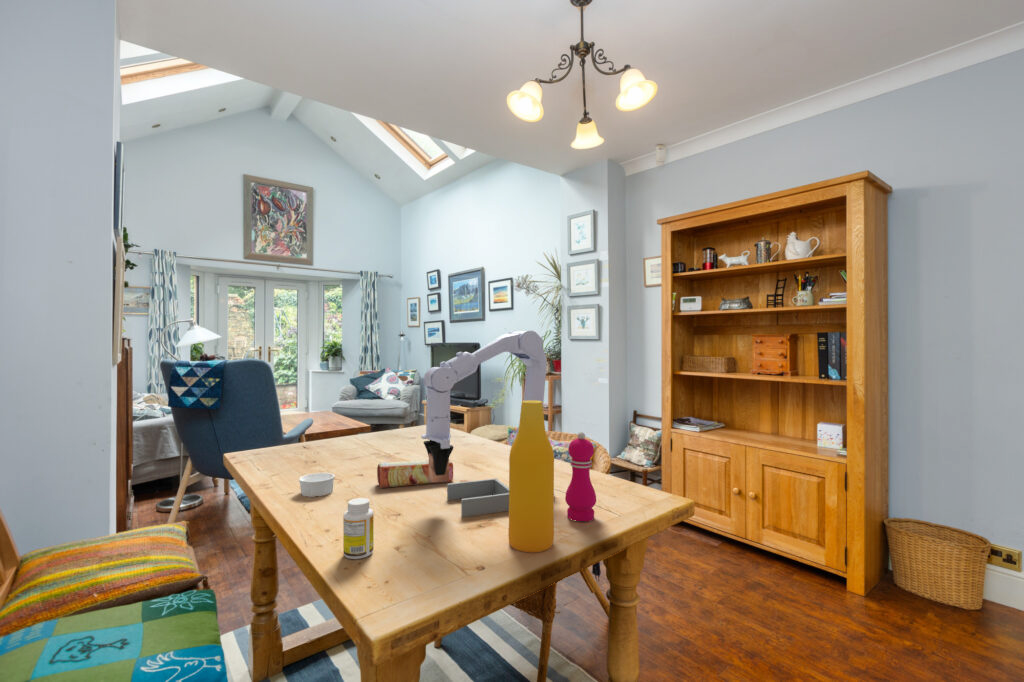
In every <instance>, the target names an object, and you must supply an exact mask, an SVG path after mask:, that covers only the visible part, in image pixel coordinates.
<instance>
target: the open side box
mask: <svg viewBox="0 0 1024 682" xmlns="http://www.w3.org/2000/svg"><path fill="white" fill-rule="evenodd" d="M446 485H447V488H446V491H447V494H446V495H447V496H446V499H447V501H451V500H452V501H453V500H460V499H461V507H460V508H461V511H460V513H461V515H460V516H461V517H462V518H465V517H473V515H474V516H480V515H481V516H482V515H487V514H495V513H501V512H509V486H507V485H505V483H503V482H502V481H500V480H499V479H498V478H497V477H496V478H487V479H479V480H469V481H460V482H453V483H452V482H449V483H446ZM492 494H493V495H492Z"/></svg>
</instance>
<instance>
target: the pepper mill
mask: <svg viewBox="0 0 1024 682" xmlns="http://www.w3.org/2000/svg"><path fill="white" fill-rule="evenodd" d="M567 452H568V455H569V456H570V457H571V458H570V459H569V461H570V464H569V465H570V466H571V468H572V469H571V470H572V476H571V480H570V482H569V484H568V487H567V489H566V491H565V496H564V497H565V498H564V499H565V503H566V505H568V508H567V511H566V513H567V515H566V517H567V518H568V519H569V518H570V519H572V520H571V521H573V520H576V521H575V522H577V521H588V522H591V521H593V520H594V519H595V509H593V508H594V506H595V505H596V503H597V494H596V491H595V488H594V486H593V484H592V481H591V477H590V475H591V474H590V470H591V468H592V465H593V464H592V462H593V461H592V459H591V458H592V457H593V456H594V453H595V448H594V445H593V443H592V442H591V441H590V440H589V439H587V438H586V434H585V432H583V431H580V432H578V434H577V438H575V439H572V440H571V441H570V443H569V444H568V451H567ZM570 519H569V520H570ZM592 519H593V520H592ZM590 520H591V521H590Z"/></svg>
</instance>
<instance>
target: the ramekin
mask: <svg viewBox="0 0 1024 682" xmlns="http://www.w3.org/2000/svg"><path fill="white" fill-rule="evenodd" d="M335 476H336V475H335V474H333V473H330V472H315V473H314V472H313V473H309V474H305V475H302V476H300V477H299V479H298V480H299V484H300V494H301V496H303V497H306V496H308V497H307V498H313V497H314V496H318V497H323V496H322V495H324V496H326V494H327V495H329V494H331V493H332V492H333V490H334V480H335ZM314 498H315V497H314Z"/></svg>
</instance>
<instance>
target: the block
mask: <svg viewBox="0 0 1024 682" xmlns="http://www.w3.org/2000/svg"><path fill="white" fill-rule="evenodd" d="M428 460H429V479H430V480H431V481H432V482H440V481H449V460H450V458H449V459H448V463H447V467H446V472H445V475H436V474H435V469H434V461H433V457H432V453H429V456H428Z"/></svg>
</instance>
